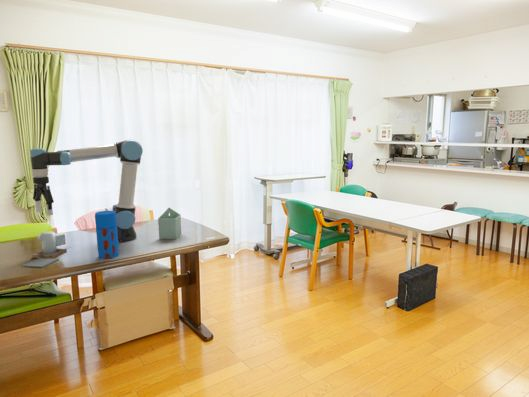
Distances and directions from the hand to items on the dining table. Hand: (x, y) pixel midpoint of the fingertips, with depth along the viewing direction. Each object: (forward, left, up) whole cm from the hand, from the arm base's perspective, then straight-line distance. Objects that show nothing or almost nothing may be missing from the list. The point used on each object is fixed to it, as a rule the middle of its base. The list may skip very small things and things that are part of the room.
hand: (44, 213), depth 213 cm
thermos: (-37, -1, -24) cm, 44 cm away
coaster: (-8, +16, -23) cm, 29 cm away
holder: (-3, +3, -23) cm, 24 cm away
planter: (-58, -42, -24) cm, 76 cm away
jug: (-4, +1, -23) cm, 24 cm away
